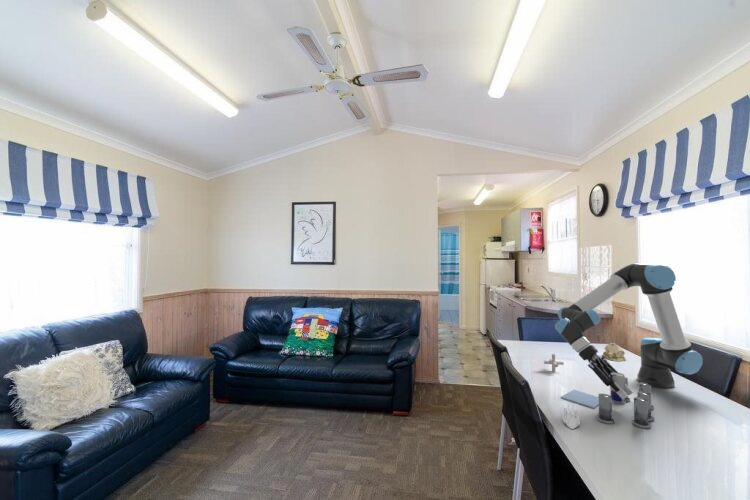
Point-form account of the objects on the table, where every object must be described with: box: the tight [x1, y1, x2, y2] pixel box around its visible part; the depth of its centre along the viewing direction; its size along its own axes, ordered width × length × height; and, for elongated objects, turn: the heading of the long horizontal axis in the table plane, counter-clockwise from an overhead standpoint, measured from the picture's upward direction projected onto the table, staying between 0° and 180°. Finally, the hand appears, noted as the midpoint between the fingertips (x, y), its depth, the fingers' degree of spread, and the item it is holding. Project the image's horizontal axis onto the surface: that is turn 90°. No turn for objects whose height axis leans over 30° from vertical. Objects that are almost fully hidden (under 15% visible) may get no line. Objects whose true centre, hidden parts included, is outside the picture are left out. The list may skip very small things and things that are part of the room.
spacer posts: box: [596, 376, 655, 430], centre depth 143 cm, size 19×35×10 cm, turn 127°
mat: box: [560, 389, 599, 409], centre depth 158 cm, size 14×14×1 cm
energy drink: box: [609, 372, 627, 406], centre depth 147 cm, size 5×5×12 cm
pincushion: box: [561, 408, 581, 430], centre depth 136 cm, size 12×6×6 cm, turn 154°
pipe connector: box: [543, 353, 565, 373], centre depth 195 cm, size 10×10×10 cm
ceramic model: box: [602, 342, 627, 362], centre depth 219 cm, size 14×11×10 cm
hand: (628, 395), depth 144 cm, fingers closed on energy drink, 5 cm apart
